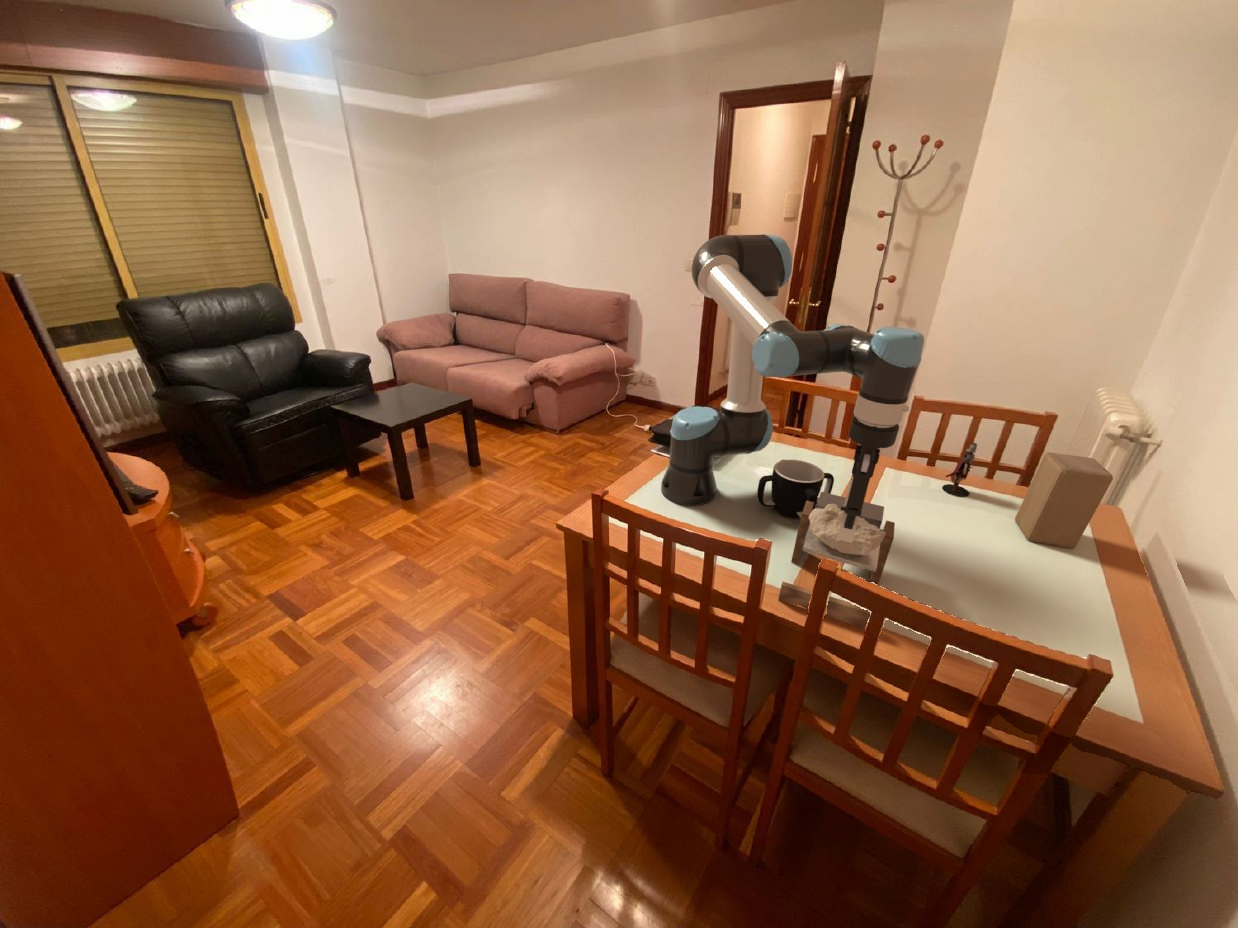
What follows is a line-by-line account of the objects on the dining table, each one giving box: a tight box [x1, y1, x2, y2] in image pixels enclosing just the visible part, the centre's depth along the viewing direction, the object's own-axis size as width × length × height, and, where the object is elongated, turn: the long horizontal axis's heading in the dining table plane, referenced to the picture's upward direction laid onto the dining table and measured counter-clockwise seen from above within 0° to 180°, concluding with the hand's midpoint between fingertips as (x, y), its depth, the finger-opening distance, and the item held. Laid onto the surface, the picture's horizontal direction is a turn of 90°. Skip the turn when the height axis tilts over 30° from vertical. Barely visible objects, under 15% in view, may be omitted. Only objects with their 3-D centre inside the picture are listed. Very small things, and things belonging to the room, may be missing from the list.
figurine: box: [941, 442, 978, 498], centre depth 137 cm, size 7×7×15 cm
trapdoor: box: [802, 491, 885, 572], centre depth 104 cm, size 13×19×3 cm
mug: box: [756, 459, 835, 521], centre depth 128 cm, size 16×16×12 cm
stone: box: [809, 504, 886, 556], centre depth 97 cm, size 8×12×10 cm
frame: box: [777, 501, 895, 630], centre depth 102 cm, size 18×20×13 cm
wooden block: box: [1014, 452, 1114, 549], centre depth 118 cm, size 10×10×20 cm
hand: (847, 523), depth 97 cm, fingers open, 11 cm apart
